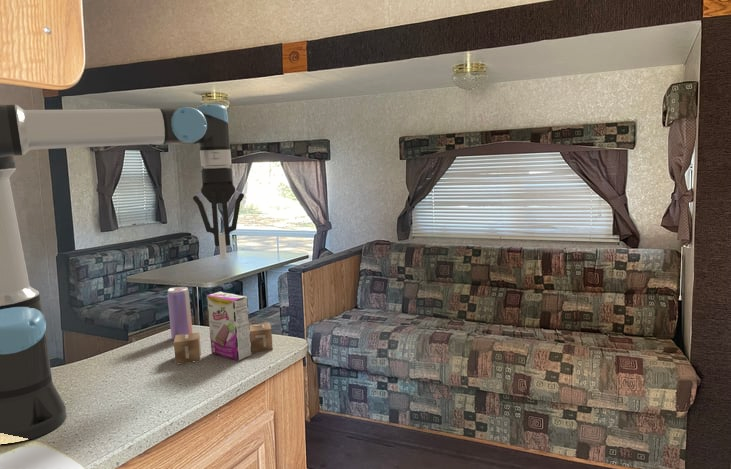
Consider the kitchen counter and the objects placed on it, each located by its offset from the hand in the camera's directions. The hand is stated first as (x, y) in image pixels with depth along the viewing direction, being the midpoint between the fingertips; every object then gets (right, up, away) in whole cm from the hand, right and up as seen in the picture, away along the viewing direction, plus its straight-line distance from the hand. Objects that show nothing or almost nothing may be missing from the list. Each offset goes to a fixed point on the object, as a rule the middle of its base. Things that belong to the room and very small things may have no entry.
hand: (223, 258), depth 142 cm
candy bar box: (+1, -26, +4) cm, 27 cm away
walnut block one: (-10, -27, +2) cm, 29 cm away
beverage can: (-17, -25, +19) cm, 36 cm away
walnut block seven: (+8, -25, +9) cm, 28 cm away
